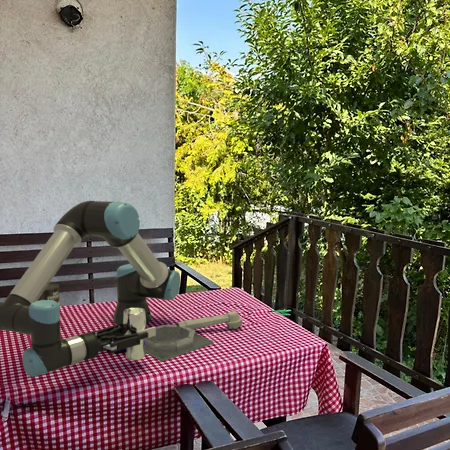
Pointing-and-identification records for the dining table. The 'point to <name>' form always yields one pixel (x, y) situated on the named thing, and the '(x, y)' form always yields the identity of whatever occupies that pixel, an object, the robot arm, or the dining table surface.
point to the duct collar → (174, 342)
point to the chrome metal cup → (134, 330)
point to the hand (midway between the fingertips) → (148, 327)
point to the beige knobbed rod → (213, 321)
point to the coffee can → (51, 294)
